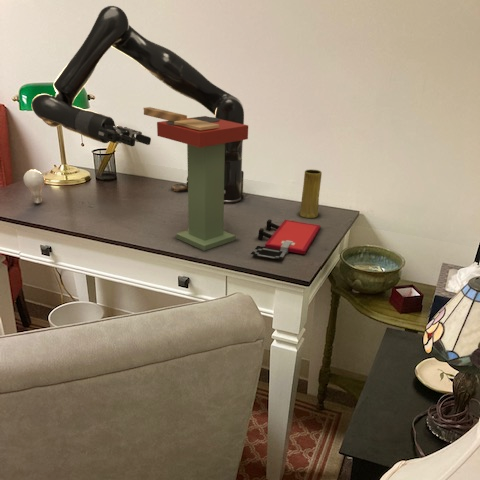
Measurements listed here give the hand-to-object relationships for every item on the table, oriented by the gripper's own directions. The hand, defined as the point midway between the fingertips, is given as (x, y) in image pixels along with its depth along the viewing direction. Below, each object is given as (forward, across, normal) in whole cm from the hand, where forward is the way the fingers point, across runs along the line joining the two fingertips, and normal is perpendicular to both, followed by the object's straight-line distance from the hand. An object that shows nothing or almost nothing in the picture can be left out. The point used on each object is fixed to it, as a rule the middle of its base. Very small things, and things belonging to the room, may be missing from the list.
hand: (142, 142), depth 150 cm
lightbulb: (-35, +1, +30) cm, 46 cm away
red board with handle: (+47, +6, +15) cm, 50 cm away
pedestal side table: (+24, 0, +20) cm, 31 cm away
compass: (-2, +36, +20) cm, 41 cm away
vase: (+47, +31, +12) cm, 57 cm away
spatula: (+12, -6, -9) cm, 17 cm away
